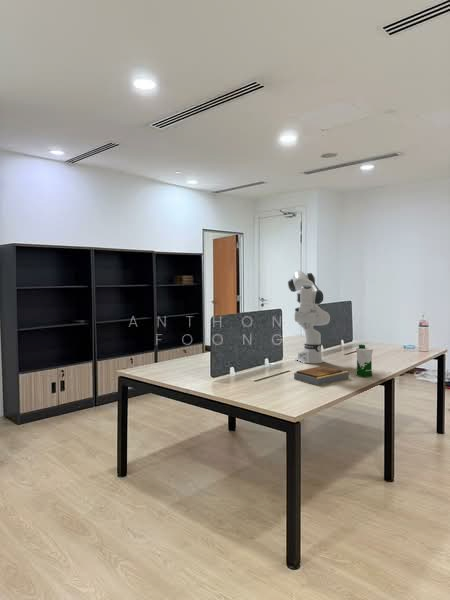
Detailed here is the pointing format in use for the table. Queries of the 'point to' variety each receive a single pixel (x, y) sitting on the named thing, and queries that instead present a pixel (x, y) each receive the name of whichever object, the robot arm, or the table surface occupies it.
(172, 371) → the table surface
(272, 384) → the table surface
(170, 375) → the table surface
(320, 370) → the diary
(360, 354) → the milk carton
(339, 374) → the bay
